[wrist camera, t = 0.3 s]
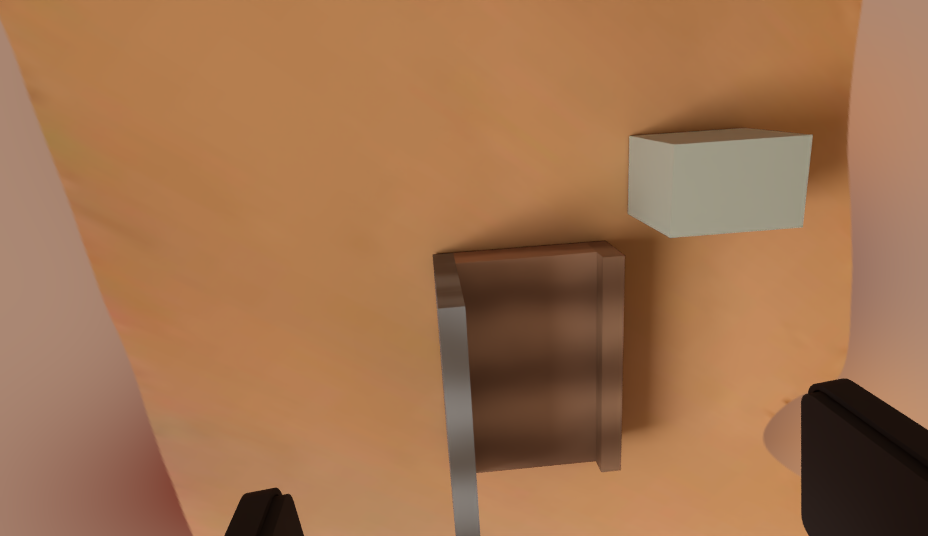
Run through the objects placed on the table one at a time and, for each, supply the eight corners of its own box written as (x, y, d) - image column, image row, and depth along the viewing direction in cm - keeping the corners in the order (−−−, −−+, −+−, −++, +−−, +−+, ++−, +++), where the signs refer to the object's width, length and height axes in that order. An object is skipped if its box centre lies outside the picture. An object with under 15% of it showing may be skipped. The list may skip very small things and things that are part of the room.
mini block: (629, 135, 44) (674, 144, 36) (748, 127, 45) (817, 134, 37) (627, 213, 46) (670, 237, 38) (742, 205, 46) (806, 226, 39)
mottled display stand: (432, 254, 45) (437, 308, 34) (605, 240, 46) (667, 289, 35) (448, 454, 51) (457, 559, 39) (603, 438, 51) (657, 537, 40)
